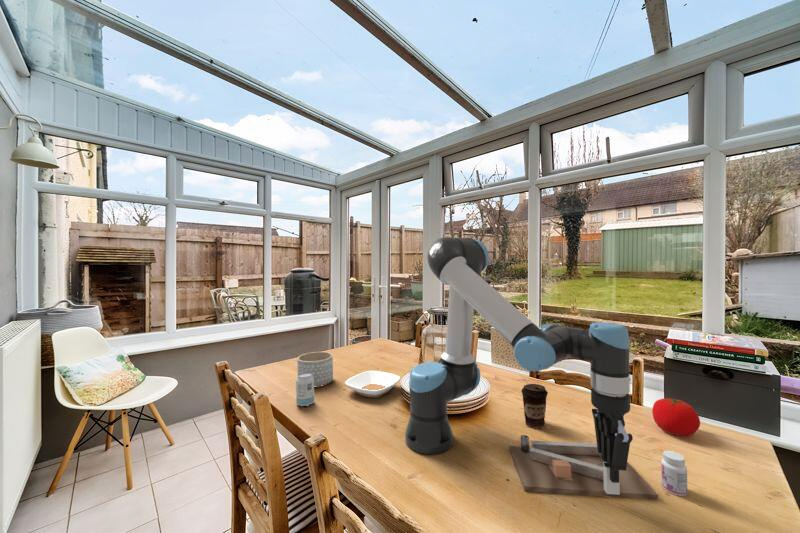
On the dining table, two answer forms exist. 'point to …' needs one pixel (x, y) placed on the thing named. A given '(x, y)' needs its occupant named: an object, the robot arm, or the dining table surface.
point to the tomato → (675, 417)
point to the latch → (562, 468)
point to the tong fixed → (560, 447)
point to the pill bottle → (674, 473)
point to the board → (577, 478)
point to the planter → (317, 366)
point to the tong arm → (575, 464)
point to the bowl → (372, 382)
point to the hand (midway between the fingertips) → (611, 491)
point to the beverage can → (304, 389)
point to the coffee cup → (534, 405)
